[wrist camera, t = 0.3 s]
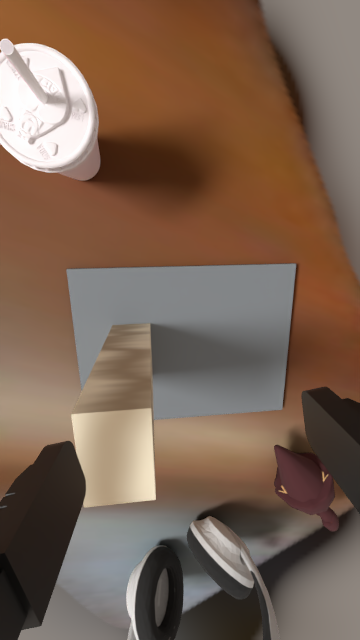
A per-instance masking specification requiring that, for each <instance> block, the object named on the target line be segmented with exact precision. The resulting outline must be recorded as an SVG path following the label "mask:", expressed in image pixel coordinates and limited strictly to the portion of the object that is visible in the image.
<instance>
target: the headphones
mask: <svg viewBox="0 0 360 640" xmlns="http://www.w3.org/2000/svg"><path fill="white" fill-rule="evenodd" d="M187 541H188V545H189V547H190V549H191V551H192V552H193V554H194V556H195V558H196V559H197V560H198V562H199V563H200V564H201V566H202V567H203V568H204V570H205V571H206V572H207V574H208V575H209V576H210V577H211V578H212V579H213V580H214V581H215V582H216V583H217V584H218V585H219V586H220V587H221V588H222V589H223V590H225V591H226V592H227V593H228V594H230V595H232V596H233V597H235V598H236V599H244V598H246V597H247V596H248V595H249V593H250V592H251V589H252V588H253V584H254V583H255V586H256V589H257V592H258V596H259V601H260V606H261V612H262V624H263V640H279V632H278V627H277V622H276V617H275V614H274V611H273V607H272V604H271V601H270V597H269V594H268V592H267V589H266V587H265V585H264V582H263V581H262V578H261V576H260V574H259V571H258V569H257V567H256V566H255V564H254V562H253V560H252V559H251V557H250V553H249V550H248V548H247V546H246V545H245V544H244V542H243V541H242V540H241V539H240V538H239V537H238V536H237V535H236V534H235V533H234V532H233V531H232V530H231V529H230V528H229V527H228V526H226V525H225V524H224V523H222V522H221V521H219V520H217V519H216V518H214V517H211V516H208V517H207V518H205V519H203V520H200V521H193V522H192V523H191V524H190V527H189V530H188V532H187ZM126 600H127V609H128V612H129V615H130V617H131V619H132V620H131V624H130V629H129V634H128V640H135V637H136V640H174V638H175V636H176V633H177V630H178V627H179V624H180V620H181V614H182V607H183V574H182V568H181V564H180V561H179V559H178V557H177V555H176V553H175V552H174V551H173V550H171V549H170V548H168V547H166V546H163V545H162V546H156V547H153V548H152V549H151V550H149V552H148V553H147V554H146V555H145V557H144V558H143V560H142V561H141V562H140V563H139V564H138V565H137V566H136V567H135V569H134V570H133V572H132V574H131V577H130V580H129V583H128V587H127V598H126Z"/></svg>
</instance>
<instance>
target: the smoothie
mask: <svg viewBox="0 0 360 640" xmlns="http://www.w3.org/2000/svg"><path fill="white" fill-rule="evenodd" d="M0 49H1V51H2V52H1V53H0V143H1V145H2V146H3V147H4V148H5V149H6V150H7V151H8V152H9V153H11V154H12V155H13V156H14V157H15V158H16V159H18V160H19V161H20V162H21V163H23V164H25V165H27V166H29V167H31V168H33V169H35V170H39V171H43V172H47V173H54V172H57V173H60V174H63V175H65V176H68V177H71V178H73V179H76V180H80V181H85V180H89V179H91V178H93V177H94V176H95V175H96V174H97V172H98V170H99V168H100V153H99V147H98V140H97V133H98V124H99V120H98V112H97V105H96V103H95V100H94V97H93V94H92V92H91V90H90V88H89V86H88V84H87V82H86V80H85V78H84V77H83V75H82V74H81V72H80V71H79V70H78V68H77V67H76V66H75V65H74V64H73V63H72V62H71V61H70V60H69V59H68V58H67V57H65V56H64V55H63V54H61V53H60V52H58V51H56V50H54V49H52V48H50V47H48V46H45V45H41V44H35V43H23V44H17V45H13V44H12V43H11V41H9V40H8V39H3V40H2V41H1V42H0Z"/></svg>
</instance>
